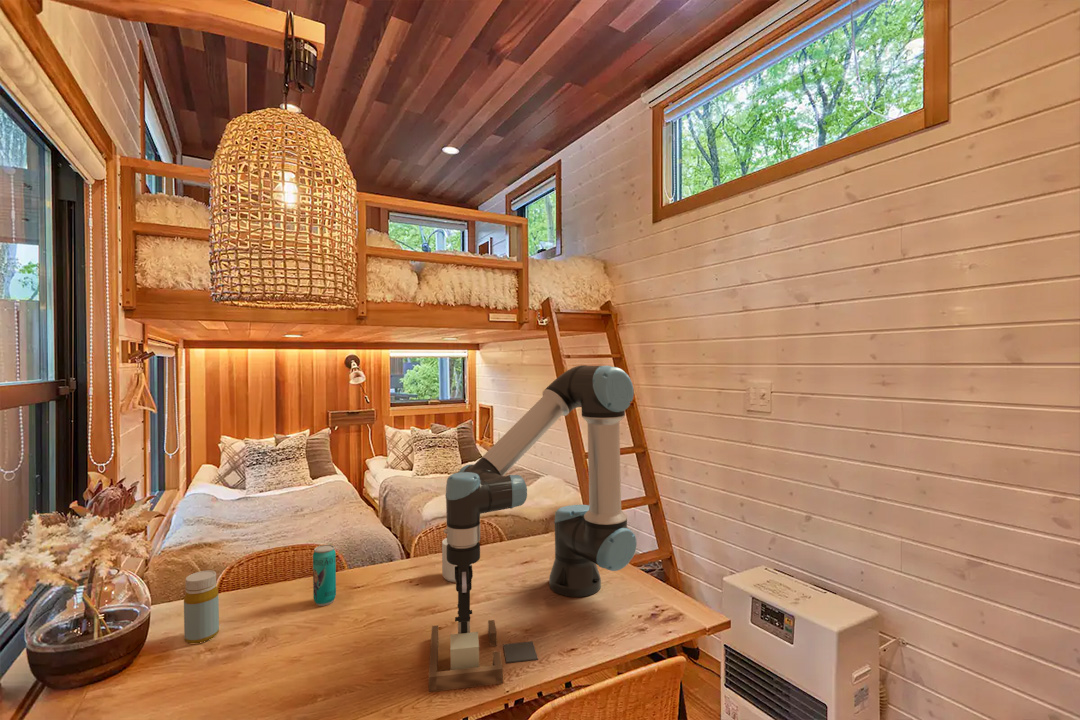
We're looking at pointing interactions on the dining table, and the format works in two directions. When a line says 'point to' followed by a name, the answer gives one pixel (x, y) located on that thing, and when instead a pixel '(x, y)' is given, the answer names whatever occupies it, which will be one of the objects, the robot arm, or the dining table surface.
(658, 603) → the dining table surface
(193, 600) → the bottle
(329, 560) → the beverage can
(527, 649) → the plate
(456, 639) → the block
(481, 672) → the channel
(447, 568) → the mug
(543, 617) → the dining table surface
